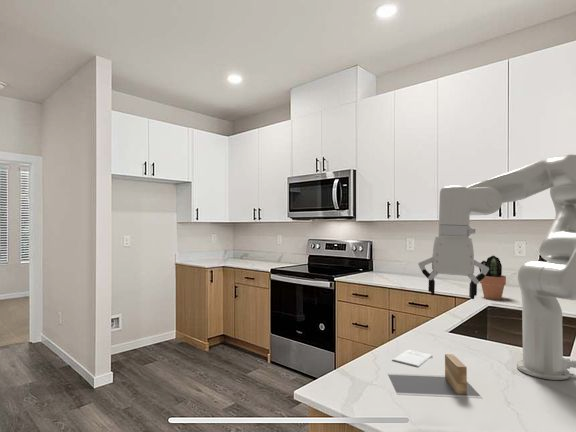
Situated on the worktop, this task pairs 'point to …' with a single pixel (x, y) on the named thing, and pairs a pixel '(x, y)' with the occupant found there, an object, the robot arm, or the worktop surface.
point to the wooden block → (456, 373)
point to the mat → (427, 386)
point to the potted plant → (493, 279)
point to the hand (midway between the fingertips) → (451, 296)
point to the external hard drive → (412, 358)
